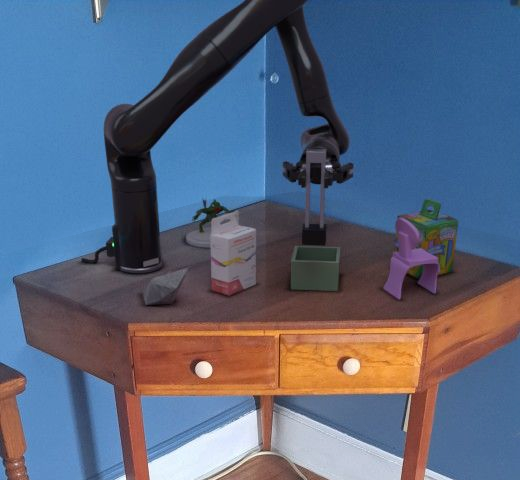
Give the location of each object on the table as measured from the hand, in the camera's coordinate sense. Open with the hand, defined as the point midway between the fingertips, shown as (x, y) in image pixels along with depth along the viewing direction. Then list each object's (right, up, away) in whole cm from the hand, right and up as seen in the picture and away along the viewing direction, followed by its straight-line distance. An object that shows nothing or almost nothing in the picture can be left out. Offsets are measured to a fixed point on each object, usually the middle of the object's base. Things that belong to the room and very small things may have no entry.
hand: (314, 182), depth 144 cm
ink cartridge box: (-15, -17, +20) cm, 30 cm away
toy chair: (+20, -18, +17) cm, 32 cm away
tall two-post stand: (0, -9, +8) cm, 12 cm away
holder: (+2, -15, +22) cm, 27 cm away
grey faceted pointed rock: (-28, -20, +14) cm, 37 cm away
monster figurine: (-21, -2, +47) cm, 52 cm away
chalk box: (+25, -12, +28) cm, 39 cm away
